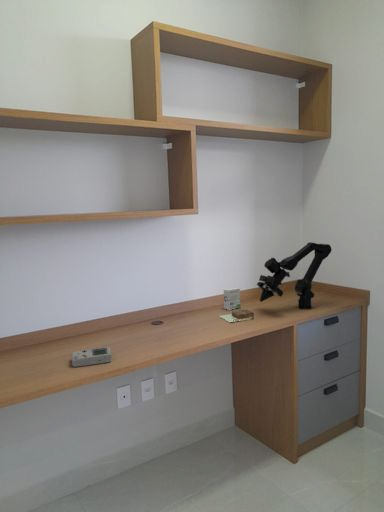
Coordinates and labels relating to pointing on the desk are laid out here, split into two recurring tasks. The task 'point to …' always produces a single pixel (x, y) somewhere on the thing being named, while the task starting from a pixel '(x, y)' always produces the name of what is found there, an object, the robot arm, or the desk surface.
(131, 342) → the desk surface
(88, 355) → the handheld gaming device
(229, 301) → the ink box
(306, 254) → the robot arm
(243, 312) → the walnut plaque
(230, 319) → the green mat
